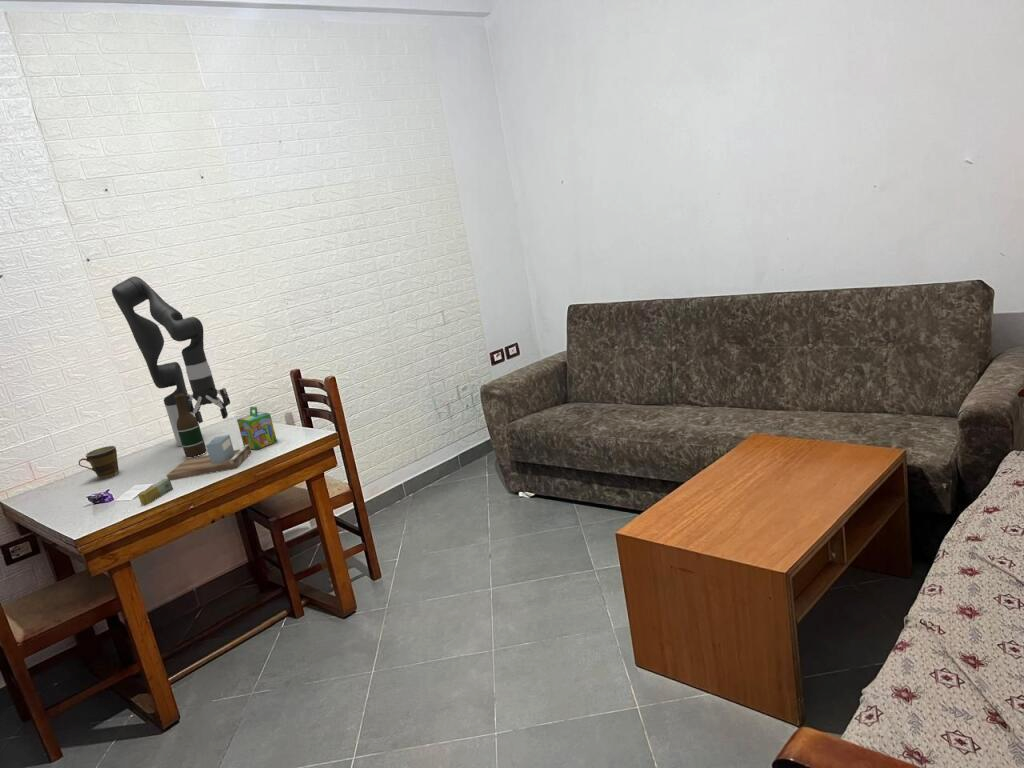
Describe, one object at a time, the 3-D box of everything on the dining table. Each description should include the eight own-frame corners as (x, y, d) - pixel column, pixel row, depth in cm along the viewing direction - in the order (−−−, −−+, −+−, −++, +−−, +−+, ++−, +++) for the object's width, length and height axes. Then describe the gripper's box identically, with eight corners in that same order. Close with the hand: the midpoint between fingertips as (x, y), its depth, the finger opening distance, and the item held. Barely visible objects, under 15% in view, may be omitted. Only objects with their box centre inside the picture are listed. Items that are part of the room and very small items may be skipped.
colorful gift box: (243, 448, 274) (233, 411, 270) (265, 439, 280) (255, 403, 277) (256, 450, 268) (246, 412, 264) (278, 441, 274) (268, 404, 271)
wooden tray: (187, 464, 267) (184, 456, 266) (251, 452, 266) (249, 444, 266) (168, 480, 251) (165, 471, 251) (236, 468, 251) (234, 459, 250)
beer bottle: (211, 449, 281) (193, 390, 275) (200, 456, 273) (182, 395, 267) (192, 452, 282) (174, 393, 276) (181, 459, 274) (163, 398, 269)
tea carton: (211, 464, 254) (205, 445, 252) (220, 455, 263) (215, 437, 261) (225, 461, 254) (220, 442, 252) (234, 452, 263) (229, 434, 261)
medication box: (167, 490, 242) (163, 478, 241) (173, 489, 241) (170, 478, 240) (141, 505, 231) (137, 494, 230) (148, 505, 230) (144, 493, 229)
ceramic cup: (119, 469, 277) (110, 444, 275) (127, 472, 270) (119, 447, 268) (81, 482, 269) (73, 456, 266) (89, 486, 262) (80, 460, 259)
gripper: (175, 382, 247) (188, 427, 252) (216, 374, 247) (229, 419, 251) (184, 376, 255) (197, 420, 259) (224, 369, 254) (236, 413, 259)
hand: (213, 420), depth 255 cm, fingers open, 8 cm apart
